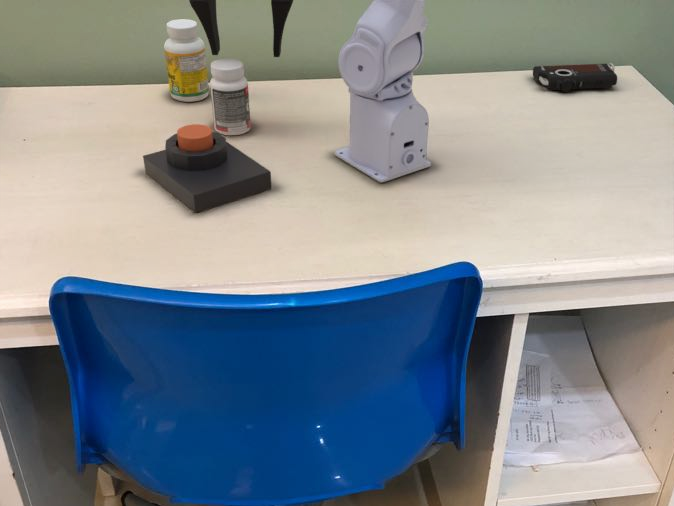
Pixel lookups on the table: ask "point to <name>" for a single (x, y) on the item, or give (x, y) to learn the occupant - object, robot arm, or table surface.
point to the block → (207, 173)
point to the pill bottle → (229, 97)
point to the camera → (576, 76)
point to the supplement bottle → (186, 61)
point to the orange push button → (195, 137)
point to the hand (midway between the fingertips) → (246, 53)
